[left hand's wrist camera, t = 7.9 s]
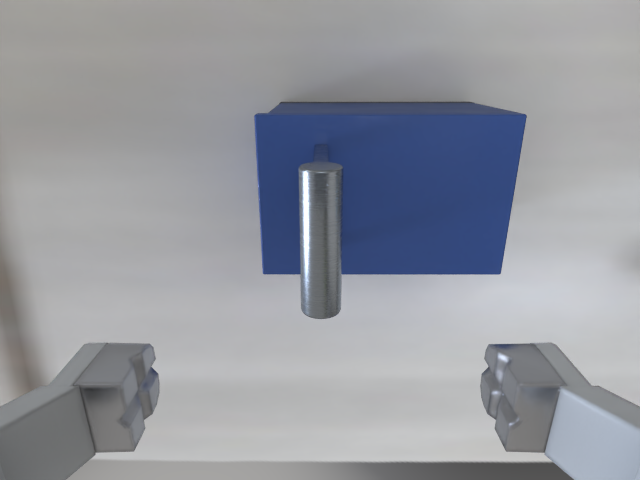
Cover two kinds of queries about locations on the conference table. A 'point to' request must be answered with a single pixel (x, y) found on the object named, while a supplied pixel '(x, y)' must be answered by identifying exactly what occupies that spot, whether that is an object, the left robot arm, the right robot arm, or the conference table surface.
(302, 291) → the lid
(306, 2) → the conference table surface
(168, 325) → the conference table surface
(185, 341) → the conference table surface
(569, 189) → the conference table surface
